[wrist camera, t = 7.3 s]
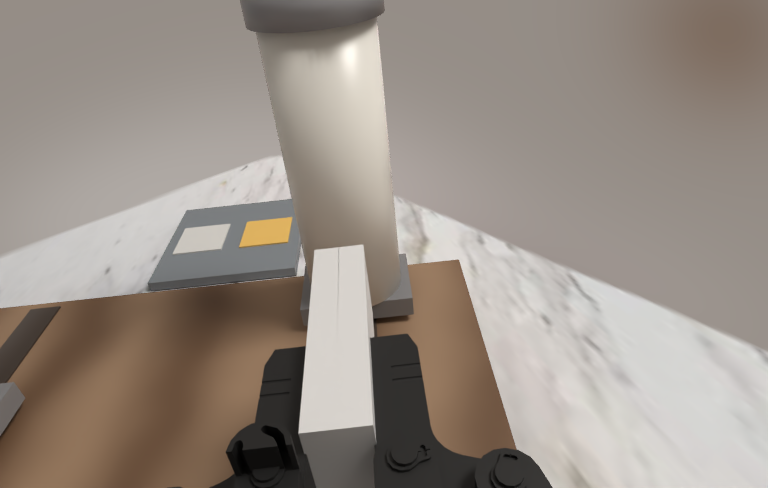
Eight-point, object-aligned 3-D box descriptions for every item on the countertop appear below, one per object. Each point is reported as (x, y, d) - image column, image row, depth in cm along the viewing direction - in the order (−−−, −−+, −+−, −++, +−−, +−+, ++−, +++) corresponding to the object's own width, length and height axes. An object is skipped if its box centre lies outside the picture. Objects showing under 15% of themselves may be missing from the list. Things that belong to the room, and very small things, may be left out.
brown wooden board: (-250, 593, 19) (-298, 565, 18) (-30, 340, 30) (-50, 312, 28) (522, 513, 19) (526, 479, 17) (459, 288, 29) (458, 258, 28)
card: (151, 290, 32) (147, 281, 31) (189, 217, 39) (186, 209, 39) (296, 275, 32) (294, 266, 31) (306, 204, 39) (305, 196, 39)
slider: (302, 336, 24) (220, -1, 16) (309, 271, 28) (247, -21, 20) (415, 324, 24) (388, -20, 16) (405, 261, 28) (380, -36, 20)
